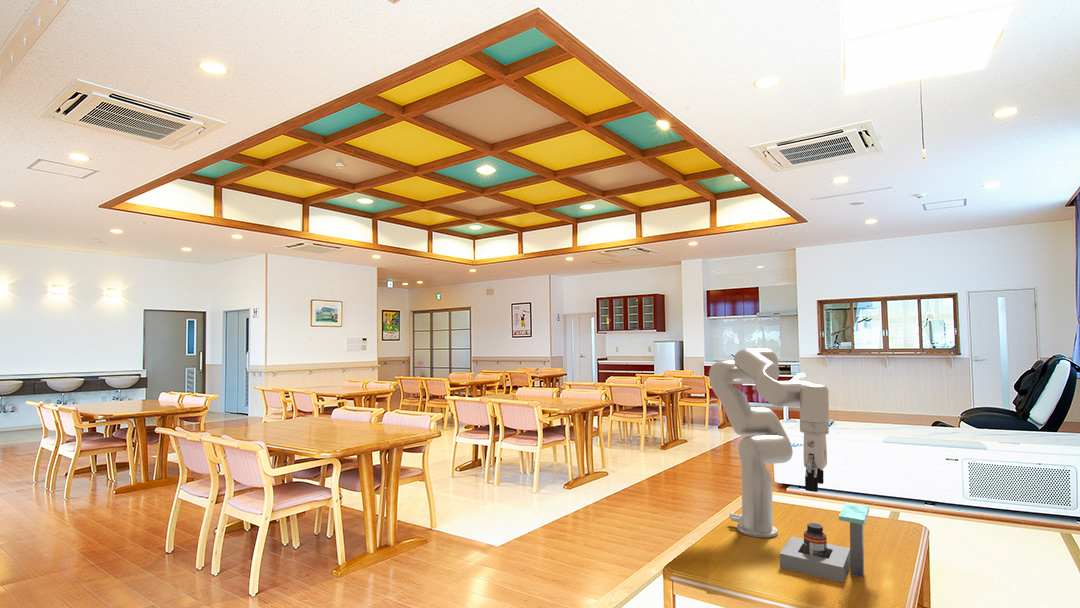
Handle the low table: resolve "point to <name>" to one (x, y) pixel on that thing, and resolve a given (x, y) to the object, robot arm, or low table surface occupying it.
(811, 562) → the socket block
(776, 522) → the low table surface
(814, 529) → the supplement bottle
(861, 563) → the teal-capped gray pillar
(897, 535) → the low table surface
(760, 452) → the robot arm
